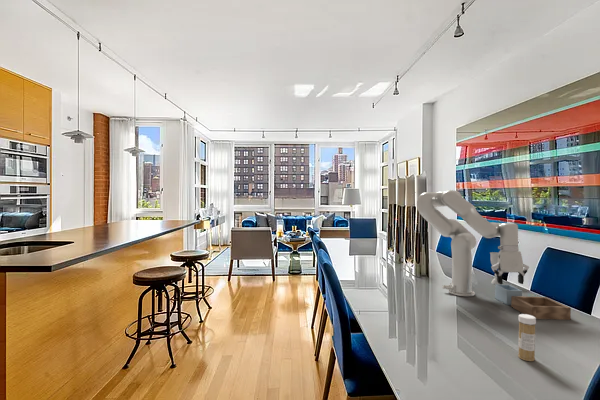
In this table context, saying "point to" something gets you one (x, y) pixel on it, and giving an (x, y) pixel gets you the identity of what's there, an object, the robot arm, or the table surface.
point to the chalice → (494, 261)
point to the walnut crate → (541, 307)
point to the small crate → (506, 293)
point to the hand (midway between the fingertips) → (510, 283)
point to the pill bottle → (527, 337)
